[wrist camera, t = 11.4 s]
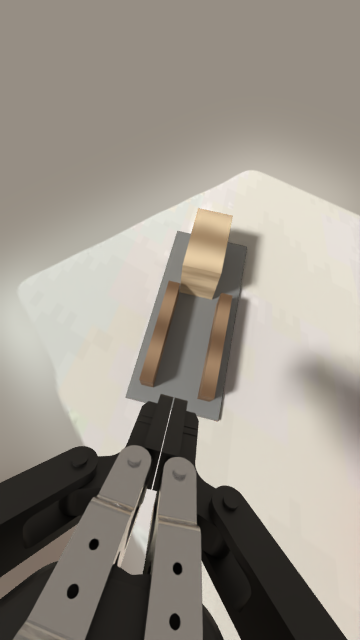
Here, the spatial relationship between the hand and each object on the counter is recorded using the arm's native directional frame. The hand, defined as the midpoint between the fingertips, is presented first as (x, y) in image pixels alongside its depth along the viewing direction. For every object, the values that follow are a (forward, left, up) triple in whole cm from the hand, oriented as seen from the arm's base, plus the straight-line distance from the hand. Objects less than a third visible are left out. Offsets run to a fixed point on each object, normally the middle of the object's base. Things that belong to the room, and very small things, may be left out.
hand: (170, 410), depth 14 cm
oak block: (-18, -15, -20) cm, 31 cm away
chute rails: (-9, -6, -20) cm, 23 cm away
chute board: (-12, -9, -20) cm, 26 cm away
